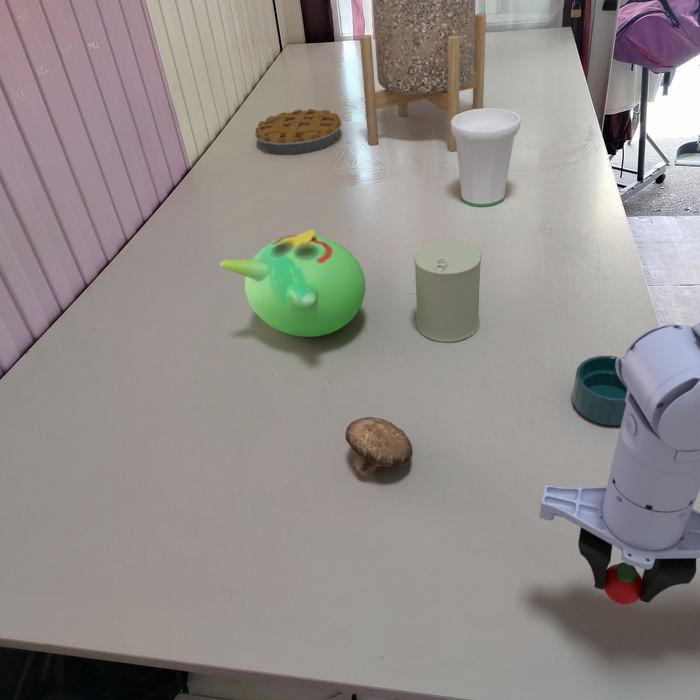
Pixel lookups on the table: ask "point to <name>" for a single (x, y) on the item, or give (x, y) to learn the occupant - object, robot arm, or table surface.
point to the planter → (423, 57)
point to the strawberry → (623, 583)
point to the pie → (298, 131)
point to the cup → (484, 153)
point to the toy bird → (302, 284)
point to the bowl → (600, 391)
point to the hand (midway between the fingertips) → (621, 584)
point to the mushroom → (377, 445)
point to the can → (447, 290)
